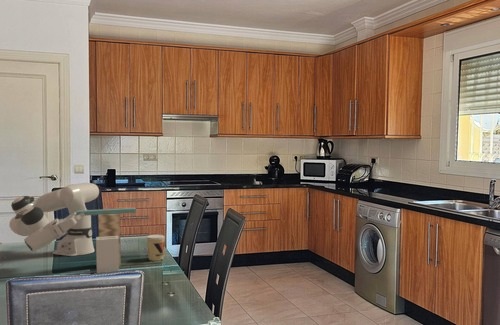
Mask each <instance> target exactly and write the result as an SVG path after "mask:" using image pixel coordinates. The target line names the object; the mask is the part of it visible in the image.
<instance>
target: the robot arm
mask: <svg viewBox="0 0 500 325" xmlns="http://www.w3.org/2000/svg"><path fill="white" fill-rule="evenodd" d="M99 194H100V189H99V187H98V185H97V184H95V183H91V182H82V183H80V182H79V183H74V184H68V185H65V186H64V187H62V188H60V189H57V190H53V191H50V192H47V193H44V194H42V195H41V196H39V197H37V198H36V199H35V197H34V196H28V195H22V196H19V197H17V198H15V199H14V200H13V201H12V202H11V210H12V211H14V213H15V216H13V217H11V219H10V221H9V224H8V225H9V228H10V230H11V231H12V233H15V235H18V236H21V237H25V238H24V243H25V245H26V246H27V247H28V249H29V250H30V251H32V252H36V251H39V250H41V249H43V248H45V247H47V246H49V245H50V244H52V242H54V241H57V240H58V239H60V238H62V237H63V238H62V239H60V240H59V241H58V242H57V245H56V246H57V247H56V249H55V250H53V251H52V254H53V255H61V256H69V257H75V256H83V255H89V254H92V253H94V252H95V250H96V249H95V248H94V247H95V246H94V243H93V242H94V241H93V227H92V215H86V216H85V214H84V212H82V213H81V214H79V215H77V211H80V210H88V209H87V207H86V204H85V203H90V202H92V201H93V200H96V199H97V198H98V196H99ZM65 208H67V210H68V214H69V215H67V216H66V217H64V218H60V219H59V218H55V219H53V220H52V221H50V219H48V217H47V216H46V215H45V213H51V212H55V211H56V212H57V211H59V210H62V209H65Z"/></svg>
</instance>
